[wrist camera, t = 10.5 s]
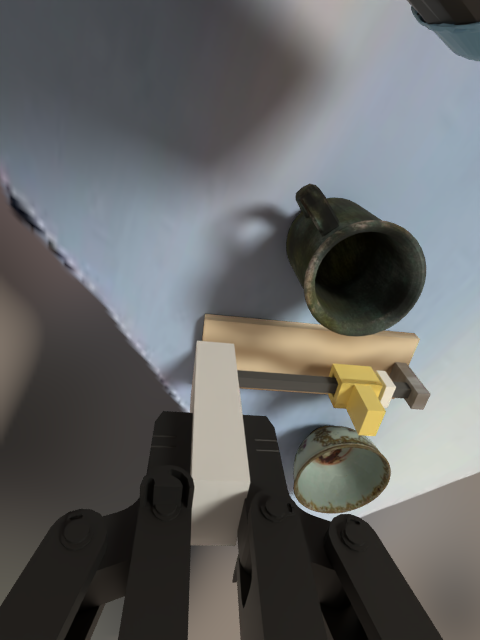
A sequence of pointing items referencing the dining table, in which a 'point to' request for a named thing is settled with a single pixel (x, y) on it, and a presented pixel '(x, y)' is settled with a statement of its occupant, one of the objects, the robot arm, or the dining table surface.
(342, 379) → the sleeve
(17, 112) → the dining table surface
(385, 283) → the mug
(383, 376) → the band
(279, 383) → the rod
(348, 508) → the bowl
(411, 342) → the wooden slider rail
